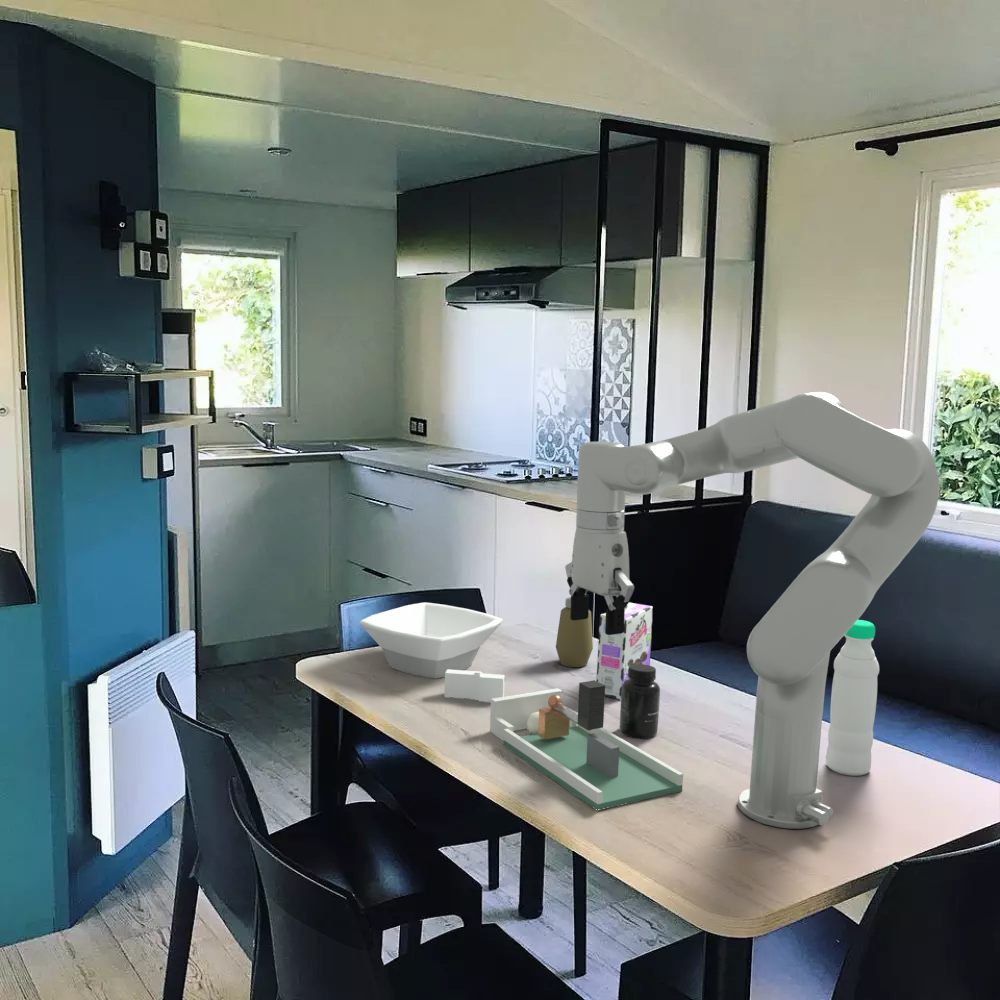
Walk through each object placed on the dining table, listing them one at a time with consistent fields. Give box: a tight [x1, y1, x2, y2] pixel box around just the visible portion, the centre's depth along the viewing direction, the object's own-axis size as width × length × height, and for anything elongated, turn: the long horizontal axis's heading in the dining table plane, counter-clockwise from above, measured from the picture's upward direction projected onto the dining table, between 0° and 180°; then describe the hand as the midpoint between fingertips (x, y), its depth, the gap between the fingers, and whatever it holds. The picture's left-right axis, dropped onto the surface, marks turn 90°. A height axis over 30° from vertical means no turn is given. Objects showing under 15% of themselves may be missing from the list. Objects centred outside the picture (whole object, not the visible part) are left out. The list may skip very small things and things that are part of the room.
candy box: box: [595, 602, 654, 700], centre depth 206 cm, size 14×6×16 cm, turn 148°
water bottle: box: [825, 619, 880, 777], centre depth 168 cm, size 7×7×25 cm
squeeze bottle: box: [555, 595, 594, 668], centre depth 221 cm, size 8×8×18 cm
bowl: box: [359, 602, 504, 680], centre depth 217 cm, size 24×25×10 cm
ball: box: [527, 712, 539, 734], centre depth 180 cm, size 4×4×4 cm
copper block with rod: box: [538, 679, 606, 740], centre depth 170 cm, size 13×5×12 cm, turn 30°
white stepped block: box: [444, 669, 506, 703], centre depth 197 cm, size 15×11×6 cm
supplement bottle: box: [619, 664, 661, 740], centre depth 182 cm, size 7×7×12 cm
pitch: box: [489, 687, 684, 811], centre depth 169 cm, size 34×16×6 cm, turn 30°
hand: (596, 626), depth 163 cm, fingers open, 9 cm apart
